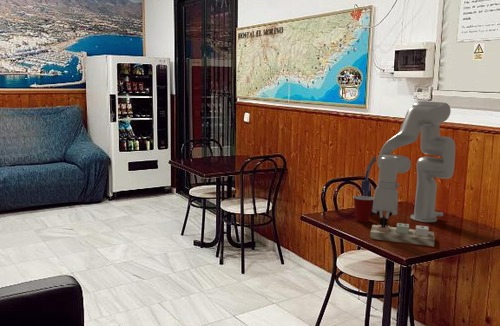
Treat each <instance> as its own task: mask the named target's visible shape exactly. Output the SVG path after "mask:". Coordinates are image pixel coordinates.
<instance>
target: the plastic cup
mask: <svg viewBox="0 0 500 326" xmlns="http://www.w3.org/2000/svg"><path fill="white" fill-rule="evenodd" d="M352 198H353V203H354V211H355V212H354V213H355V219H356V221H357V222H358V223H359V222H360V223H368V222H369V221H370V217H371V214H372V213H371V210H372V206H373V201H374V196H371V197H368V196H363V195H354V196H352Z"/></svg>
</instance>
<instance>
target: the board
mask: <svg viewBox="0 0 500 326" xmlns="http://www.w3.org/2000/svg"><path fill="white" fill-rule="evenodd" d="M378 225H379V224H372V225H371V229H370V234H369V239H370V240H371V239H372V240H380V241H388V242H393V243H394V242H395V243H404V244H412V245H418V246H419V245H420V246H427V247H428V246H429V247H435V241H436V239H435V232H434V231H429V232H428V237H427V236H418V235H415V232H416V229H412V228H409V232H408V234H402V233H396V229H397V226H396V227H393V226H390V229H389V232H385V231H377V227H378Z"/></svg>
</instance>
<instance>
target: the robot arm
mask: <svg viewBox="0 0 500 326" xmlns="http://www.w3.org/2000/svg"><path fill="white" fill-rule="evenodd" d="M451 113H452V111H451V106H450V105H449V103H447V102H443V101H442V102H441V101H439V102H438V101H426V100H421V101H416V102H413V104H412V106H411V107H409V108H408V110H407V112H406V113H405V116H404V118H403V121H402V123H401V126H400V128H399V132H397V134H395V135H394V136H392V137H391V138H389V139H388V140H387V141H386V142H385V143H384V144H383V146H382V147H381V150H380V152H379V154H378V157H377V160H376V161H377V167H378V168H379V170H378V180H377V181H378V182H377V186H376V187H375V190H374V195H373V197H374V201H373V209H372V212H374V213H373V214H377V216H379V218H380V220H379V225H381V227H385V226H388V219H389V218H390V217H391V216H396V215H398V204H399V203H398V202H399V192H398V191H399V190H398V188H400V185H401V184H400V183H397V180H398V179H397V177H398V174H405V173H407V172H408V171H409V170H410V169H411V167H412V162H411V160H410V158H409V157H408V156H405V155H398V154H392V152H393V151H394V150H395V151H396V149H398V148H400V147H404V146H407V145H410V144H413V143H416V141H417V140H418V138H419V136H420V151H421V152H422V153H423V154H424V155H430V156H421V157H420V158H418V159H417V162H416V165H415V166H416V168H415V169H416V187H415V189H416V190H415V199H414V210H413V213H412V214H411V215H410V217H409V218H410V219H411V220H413V221H417V222H421V223H435V222H438V218H437V217H443V216H444V213H443V212H442V211H441V212H438V211H436V210H435V209H436V200H437V199H436V198H437V189H438V184H437V181H436V179H435V178H437V179H445V180H447V179H451V178H452V177H453V176H454V171H455V161H456V160H455V158H456V143H455V140H454V139H453V138H452V137H450V136H442V135H440V131H441V129H440V126H441V125H440V124H442V123H444V122H446V121H447V120H448V119H449V118H450V115H451ZM433 156H438V157H433ZM440 157H441V158H440ZM384 212H386V213H385V215H384ZM383 225H384V226H383Z"/></svg>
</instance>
